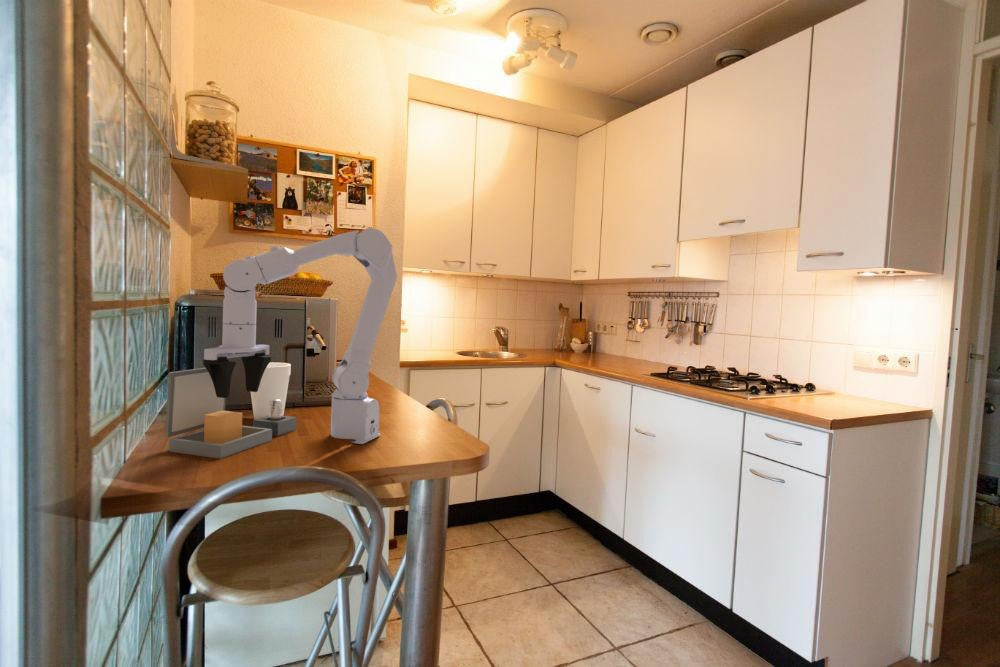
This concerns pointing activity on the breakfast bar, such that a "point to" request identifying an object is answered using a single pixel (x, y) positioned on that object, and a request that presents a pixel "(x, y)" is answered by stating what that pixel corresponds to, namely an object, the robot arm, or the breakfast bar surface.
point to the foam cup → (271, 388)
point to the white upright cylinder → (275, 409)
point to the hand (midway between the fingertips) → (237, 394)
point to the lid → (190, 401)
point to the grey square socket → (277, 424)
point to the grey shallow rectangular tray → (197, 446)
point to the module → (222, 427)
